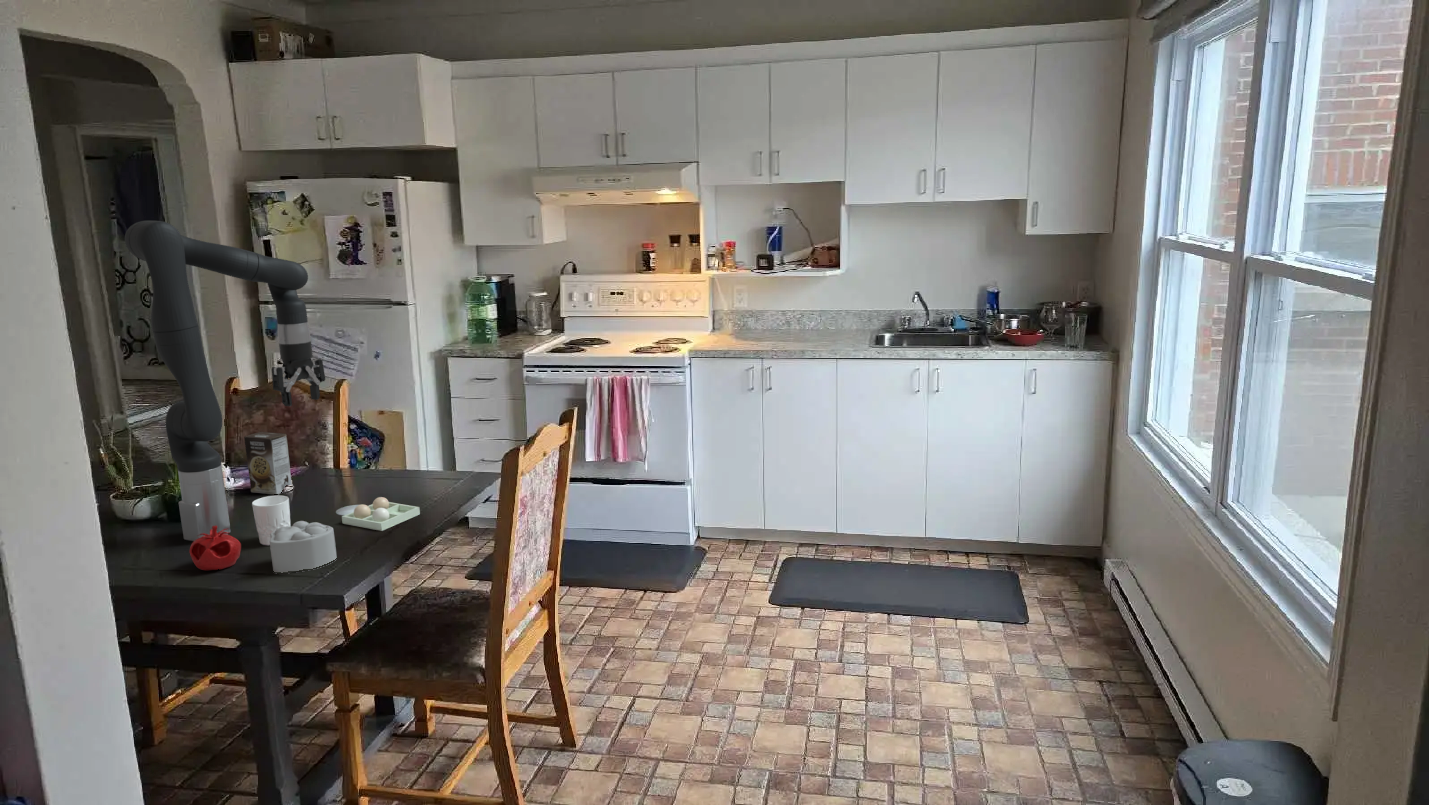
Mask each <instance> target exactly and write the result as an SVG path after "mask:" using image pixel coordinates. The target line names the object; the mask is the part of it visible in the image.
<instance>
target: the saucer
mask: <svg viewBox="0 0 1429 805" xmlns="http://www.w3.org/2000/svg"><path fill="white" fill-rule="evenodd" d="M358 505H359V504H353V505H352V504H351V505H347V506H344V507H343V506H342V507H340V508H338V509H336V510H335V513H336V514H337V515H339V516H344V515H347V514H349V513H352V512H354V509H355V508H356V507H357V506H358Z"/></svg>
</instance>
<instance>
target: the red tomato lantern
mask: <svg viewBox="0 0 1429 805" xmlns="http://www.w3.org/2000/svg"><path fill="white" fill-rule="evenodd" d="M212 529H213V530H212ZM212 529H210V530H209V531H210V535H209V534H205V533H202V534H199V535H205V536H203V537H201V538H198V539H196V540H195V541H192V542H191V545H190V547H189V554H190V558H191V559H192V560H191V561H192V562H193V563H194V565H195V566H196V568H197V569H199V570H201V571H217V570H218V569H219V570H224V569H227V568H230V567H232V566H234V565H235V564H236V563H237V560H238V559H239V558H240V555H241V551H242V543H241V542H240V541H239V540H238V539H237V538H236V537H234V536H232V535H230V533H231V532H229V533H228V532H222V531H224V530H227V529H228V528H227V529H223V530H222V531H220V532H218V533H217V526H212ZM221 532H222V533H221ZM227 534H228V535H227ZM199 535H198V536H199Z"/></svg>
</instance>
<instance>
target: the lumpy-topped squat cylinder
mask: <svg viewBox="0 0 1429 805" xmlns="http://www.w3.org/2000/svg"><path fill="white" fill-rule="evenodd" d="M270 537H271V539H270V545H269V548H270V549H269V550H270V556H271V562H272V570H273V571H274V572H281V573H283V572H288V571H299V570H303V569H313V568H316V567H319V566H322V565H324V564H327V563H329V562H331V561H333V560H335V559H336V558H337V548H336V538H335V532H334V527H332V526H330V525H326V524H323V523H320V522H316V521H315V522H313V521H312V522H310V523H309V522H307V521H306V520H305V521H304V520H299V521H296V522H294V523H293V524H292V525H291V526H285V527H280V528H278V529H277V530H276V531H274V532H272V533H271V534H270ZM336 560H337V559H336ZM336 560H335V561H336ZM313 570H314V569H313ZM273 571H272V572H273ZM274 572H273V573H274Z"/></svg>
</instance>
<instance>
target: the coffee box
mask: <svg viewBox="0 0 1429 805" xmlns="http://www.w3.org/2000/svg"><path fill="white" fill-rule="evenodd" d="M243 439H244V446H245V453H246V455H245V456H246V460H247V461H246V463H247V468H248V469H247V470H248V477H249V485H250V492H251V493H255V494H256V493H257V494H264V495H265V494H267V495H274V494H278V495H280V494H282V493H283V492H282V490H283V489H284V488H285V486H286V485H292V486H293V483H292V475H291V466H290V457H289V447H288V438H287V433H279V432H267V431H258V432H255V433H251V434H249V435H245V436H244V437H243ZM281 492H282V493H281Z"/></svg>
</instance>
